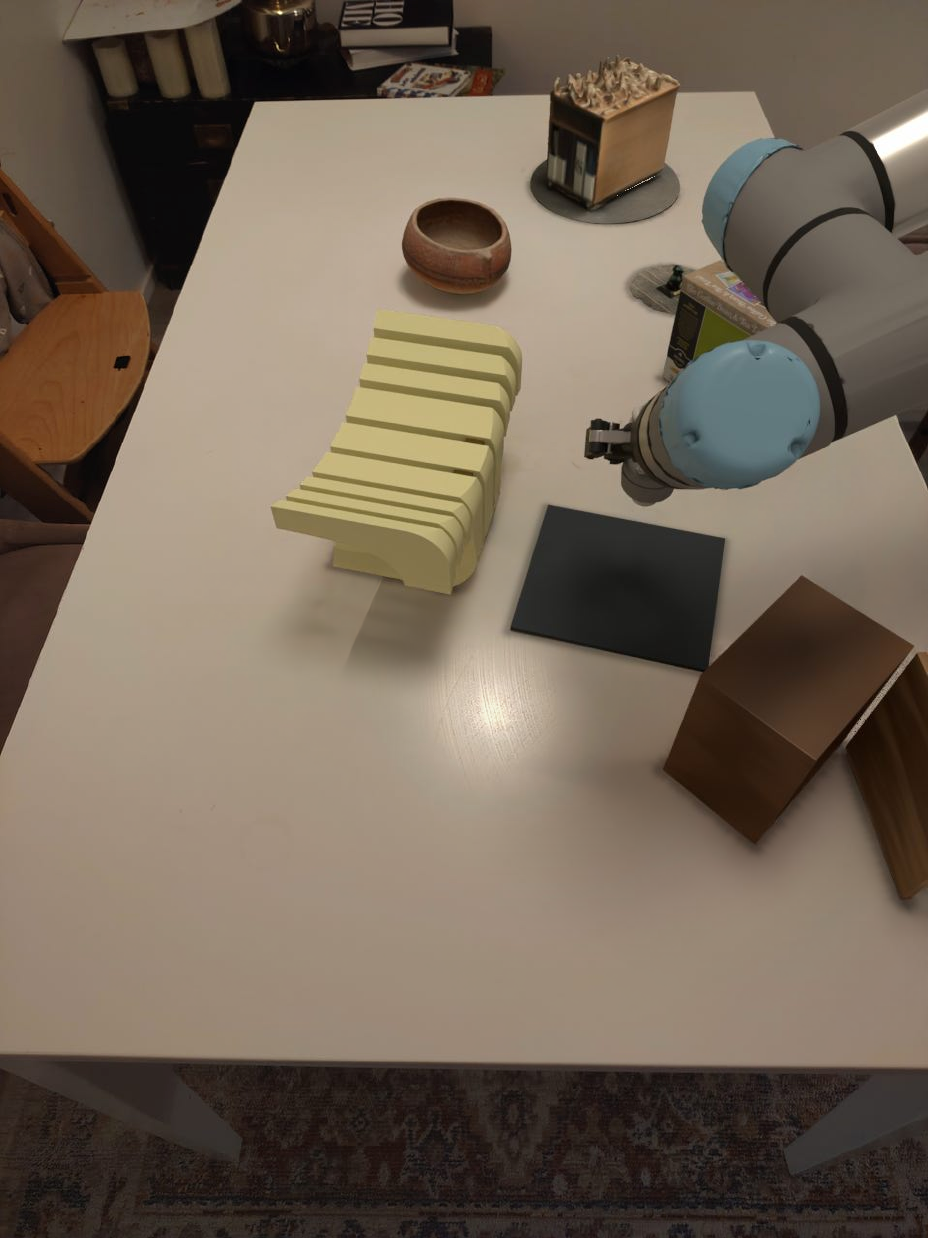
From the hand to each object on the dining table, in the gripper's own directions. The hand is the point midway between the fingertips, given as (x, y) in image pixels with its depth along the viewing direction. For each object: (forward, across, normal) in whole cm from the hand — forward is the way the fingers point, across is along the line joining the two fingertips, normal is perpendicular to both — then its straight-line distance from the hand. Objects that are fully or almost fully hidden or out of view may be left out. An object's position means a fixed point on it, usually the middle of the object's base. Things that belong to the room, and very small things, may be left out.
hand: (647, 452), depth 80 cm
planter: (+67, +3, -48) cm, 83 cm away
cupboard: (-8, -11, +27) cm, 30 cm away
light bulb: (0, 0, +5) cm, 5 cm away
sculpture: (+46, -7, -26) cm, 54 cm away
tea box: (+30, -13, -10) cm, 34 cm away
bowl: (+46, +24, -26) cm, 58 cm away
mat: (+6, +1, +14) cm, 15 cm away
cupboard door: (-11, -24, +30) cm, 40 cm away
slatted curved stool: (+10, +23, +10) cm, 27 cm away
